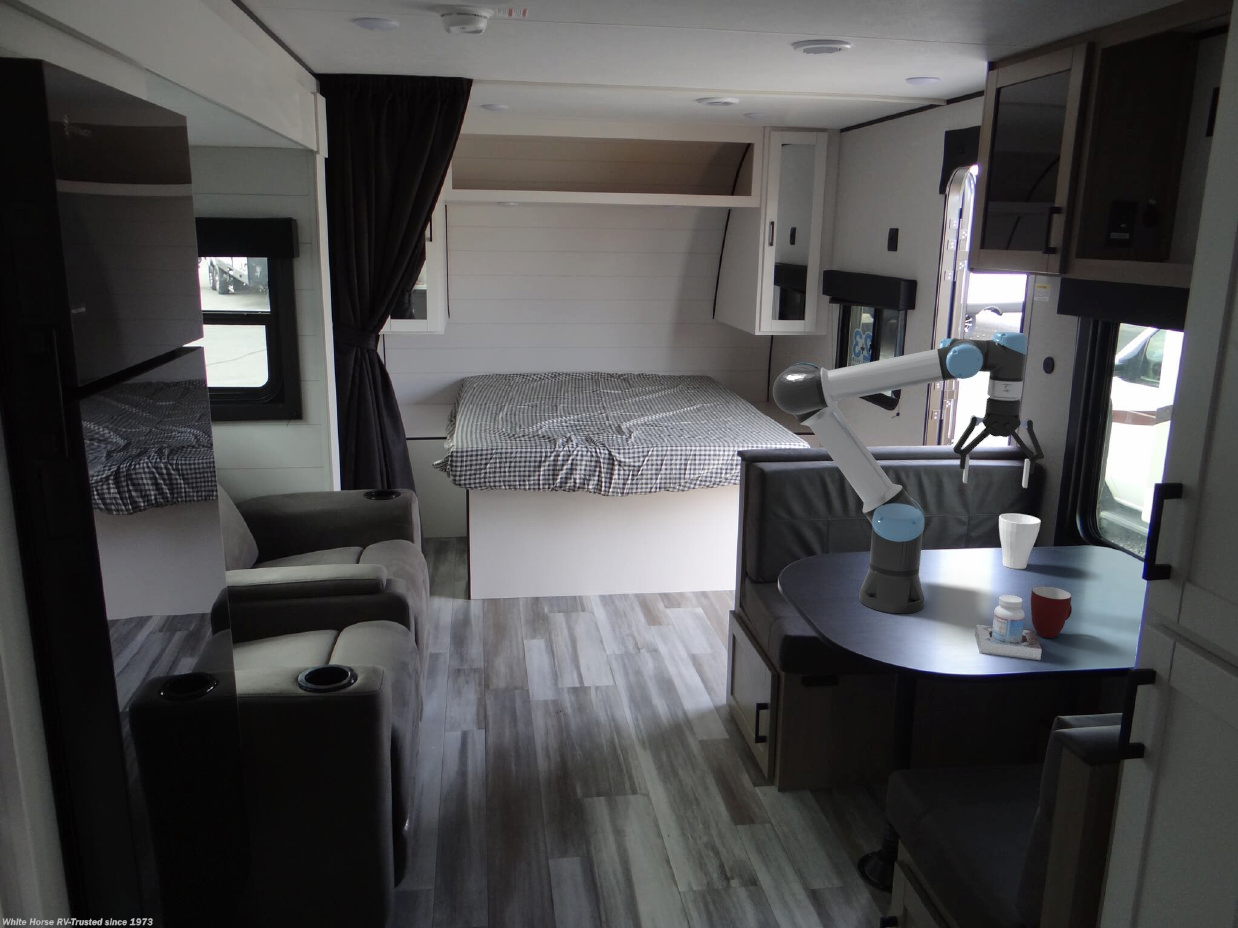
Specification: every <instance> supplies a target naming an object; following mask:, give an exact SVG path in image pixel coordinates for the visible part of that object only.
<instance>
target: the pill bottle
mask: <svg viewBox="0 0 1238 928" xmlns="http://www.w3.org/2000/svg"><path fill="white" fill-rule="evenodd" d="M1023 602H1024V601H1023V599H1022V598H1021V597H1020V596H1017V595H1013V594H1002V595H1000V596H999V598H998V605H997V606H995V608H994V611H993V622H992V626H993V630H992V638H993V639H996V640H998V641H1000V642H1003V643H1012V644H1021V643H1022V634H1023V630H1024V625H1025V616H1026V615H1025V611H1024V609H1022V606H1023Z"/></svg>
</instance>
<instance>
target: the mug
mask: <svg viewBox="0 0 1238 928" xmlns="http://www.w3.org/2000/svg"><path fill="white" fill-rule="evenodd" d="M1071 601H1072V594H1071V593H1070V592H1068V591H1066V590H1065V589H1062V588H1057V587H1053V586H1035V587H1033V588H1032V589H1031V594H1030V613H1031V623H1032V626H1033V628H1034V632H1035V634H1036V635H1038V636H1040V637H1042V638H1045V639H1054V638H1056V637H1057V636H1058V635H1059V634H1060V633H1061V631H1062V630H1063V628H1064V627H1065V623H1066V621H1068V619H1070V617H1071V615H1072V611H1073V609H1072V602H1071Z"/></svg>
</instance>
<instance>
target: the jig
mask: <svg viewBox="0 0 1238 928" xmlns="http://www.w3.org/2000/svg"><path fill="white" fill-rule="evenodd" d="M992 630H993V625H982V624H976V625H975V634H974V636H975V640H976V644H977V648H978V652H979V654H985V655H993V656H1001V657H1010V658H1019V659H1027V660H1034V661H1035V660H1037V661H1041V658H1042V657H1041V656H1042V646H1041V644H1040V642H1039V638H1038V637H1037V633H1036V631H1035V630H1027V629H1023V634H1022V643H1021V644H1012V643H1003V642H1000V641H998V640H996V639H993V638H992Z"/></svg>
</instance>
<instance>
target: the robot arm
mask: <svg viewBox="0 0 1238 928" xmlns="http://www.w3.org/2000/svg"><path fill="white" fill-rule="evenodd" d="M1027 345H1028V336H1027V335H1026V334H1025V333H1022V332H1017V331H1016V332H1014V331H997V332H995V333H994V334H993V337H992V339H987V340H986V339H985V340H984V339H972V338H971V339H970V338H956V337H953V338H942V339H940V342H939V346H938V347H939V348H935V349H931V350H930V349H929V350H926V351H921V352H915V353H909V354H905V355H901V356H894V357H890V358H885V359H880V360H875V361H871V362H865V363H860V364H854V365H850V366H845V367H840V368H834V369H826V368H825V367H819V366H818V365H815V364H813V363H810V362H799V363H794V364H793V365H791V366H789V367H788V368H787V369H785V370H784V371H782V372H781V373H780V374H779V375H778V376H777V378H776V379H775V380H774V383H773V386H772V395H773V400H774V402H775V403H776V406H778V408H780V409H781V411H783V412H785V413H787V414H790V415H792V416H793V417H795V419H796V421H798V424H800V426H801V425H802V426H807V427H809V428H810V430H811V431H812V432H813V434H814V435H815V437H816V438H817V440H818V441H819V442H820V444H821V445H822V447H824V449H825V451H826V452H827V453H828V455H829V456H830V458H832V460H833V462H834V463H835V464H836V466H837V467H838V469H839V470H840V471H841V473H842V474H843V476H844V477H845V478H846V480H847V481H848V483H849V484H850V486H851V487H852V488H853V489H854V491H855V492H856V494H857V496H859V498H860V499H861V501H862V502H863V506H862V507H863V508H862V512H863V514H864V516H865V517H866V518H867V519H868V521H869V522H870V523H871V526H872V529H871V540H870V553H869V554H870V555H869V565H868V566H869V567H868V571H867V572H866V575H865V577H864V580H863V581H862V584H861V587H860V588H859V596H858V600H859V601H860V603H861V604H863V605H864V606H866V607H868V608H870V609H873V610H876V611H879V612H880V611H881V612H885V613H889V614H890V613H891V614H911V613H916V612H919V611H921V610H922V609H924V606H925V605H924V604H925V595H924V591H923V588H922V587H923V585H922V582H921V578H920V566H921V565H920V564H921V556H922V554H921V553H922V546H923V545H922V543H923V534H924V529H925V523H926V522H925V521H926V520H925V519H926V518H925V514H924V511H923V509H922V507H921V505H920V504H919V503H918V502H917V501H916V500H915V499H914V498H912V497H911V496H909V493H907V491H906V490H905V488H904V487H903V486H902V485H901V484H896V483H893V482H892V481H891V479H890V478H889V477H888V475H887V474H886V473H885V471H884V470H883V468H882V467H881V466H880V464H879V463H878V461H877V460H876V459H875V457H874V456H873V455H872V453H871V451H870V450H869V449H868V448H867V446H866V445H865V443H864V442H863V440H862V438H860V436H859V434H858V433H857V432H856V431H855V429H854V428H853V427H852V425H851V424H850V422H849V421H848V419H847V418H846V417H845V416H844V414H843V413H842V411H841V410H840V408H839V407H838V404H839V401H845V400H849V399H855V398H861V397H866V396H871V395H875V394H881V393H886V392H891V391H896V390H901V389H902V390H903V389H907V388H913V387H917V386H922V385H927V384H928V385H929V384H932V383H937V382H943V381H950V380H956V379H962V380H964V379H966V380H967V379H970V378H973V377H974V376H976V375H977V374H978V373H979V372H983V373H985V372H987V373H989V376H988V377H989V378H988V386H987V396H988V397H987V398H986V403H985V412H984V413H985V414H984V416H983V417H979V416H976V415H975V414H973V415H971V417H970V420H969V424H968V425H967V427H966V428H965V430H964V431H963V433H962V434H961V436H960V438H959V439H958V441H957V442H956V443H955V445H954V446H953V448H952V449H953V452H954V454H957V455H959V456H960V457H959V468H960V470H963V474H962V482H963V484H968V475H969V468H970V467H969V466H970V456H969V454H970V453H971V452H972V451H973V450H974V449H975V448H977V446H979V444H980V443H982V442H983V441H984V440H985V439H986V438H988V437H989V436H992V437H1003V438H1008V437H1012V438H1013V440H1015V442H1016V443H1017V444H1018V446H1019V447H1020V448H1021V449H1022V451H1023V452H1024V454H1025V455H1026V456H1027V457H1028V458H1025V459H1024V466H1023V474H1022V481H1021V482H1022V483H1021V485H1022V488H1023V489H1024V488H1025V489H1027V488H1028V484H1029V483H1028V482H1029V475H1034V471H1035V466H1036V465H1035V464H1036V462H1037V460H1043V459H1044V458H1045V455H1044V453H1043V450H1042V448H1041V446H1040V443H1039V440H1038V438H1037V435H1036V433H1035V431H1034V422H1033V420H1032V418H1027V419H1020V413H1021V412H1020V411H1021V403H1022V401H1021V400H1020V399H1019V398H1021V397H1022V393H1023V384H1024V376H1025V369H1026V360H1027V350H1028V349H1027V348H1028V346H1027ZM981 423H982V424H983V425H984V427H985V428H984V429H982V431H981V432H980V433H978V435H977V436H976V437H974V438H973V439H972V440H971V441H970V442H969V443H968V444H967V445H966V446H965V447H964V445H965V444H966V442H967V440H969V438H970V436H971V434H972V433H973V432H974V430H975V428H976V427H978V426H980V424H981ZM1020 426H1022V427H1023V429H1025V430H1026V432H1027V434H1028V438H1029V439H1030V442H1031V444H1032V446H1033V448H1034V451H1035V453H1032V451H1031V450H1030V448H1029V447H1028V446H1027V445H1026V443H1025V442H1024V441H1023V439H1022V438H1021V437H1020V436H1019V434H1018V433H1017V431H1016V430H1018V428H1019V427H1020Z"/></svg>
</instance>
